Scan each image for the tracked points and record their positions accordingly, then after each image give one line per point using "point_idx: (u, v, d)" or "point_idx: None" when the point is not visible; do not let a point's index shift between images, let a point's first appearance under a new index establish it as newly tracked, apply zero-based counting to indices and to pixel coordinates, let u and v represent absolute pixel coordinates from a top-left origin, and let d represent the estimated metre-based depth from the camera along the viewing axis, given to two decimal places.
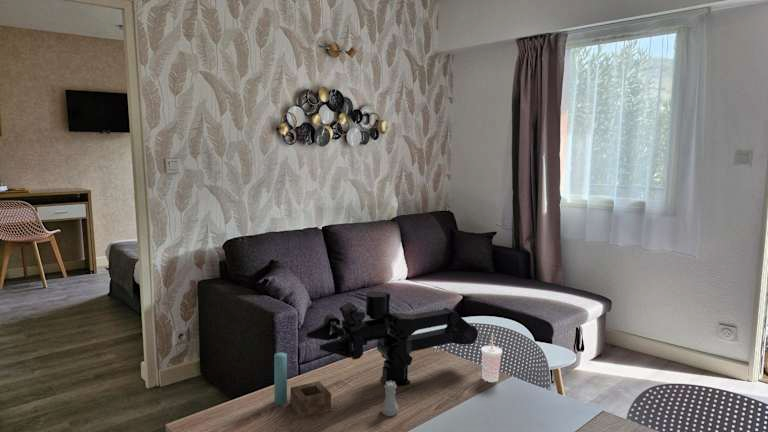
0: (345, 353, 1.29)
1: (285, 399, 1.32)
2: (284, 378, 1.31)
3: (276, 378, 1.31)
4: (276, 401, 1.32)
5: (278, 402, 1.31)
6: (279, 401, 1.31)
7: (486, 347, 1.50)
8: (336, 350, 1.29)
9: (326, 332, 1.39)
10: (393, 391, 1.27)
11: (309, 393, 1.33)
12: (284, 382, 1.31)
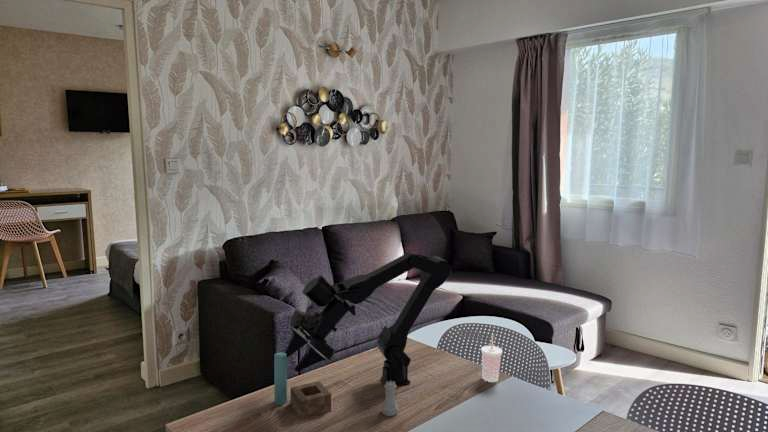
0: (320, 358, 1.30)
1: (285, 399, 1.32)
2: (284, 378, 1.31)
3: (276, 378, 1.31)
4: (276, 401, 1.32)
5: (278, 402, 1.31)
6: (279, 401, 1.31)
7: (486, 347, 1.50)
8: (311, 362, 1.29)
9: (299, 340, 1.39)
10: (393, 391, 1.27)
11: (309, 393, 1.33)
12: (284, 382, 1.31)
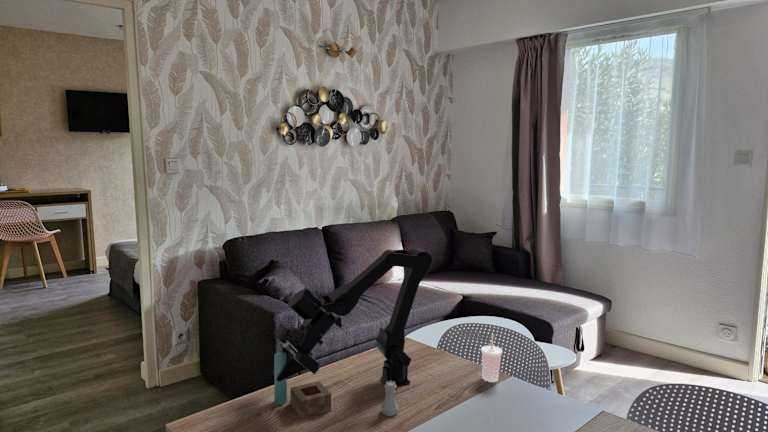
0: (301, 368, 1.30)
1: (285, 399, 1.32)
2: None
3: None
4: (276, 401, 1.32)
5: (278, 402, 1.31)
6: (279, 401, 1.31)
7: (486, 347, 1.50)
8: (292, 371, 1.30)
9: None
10: (393, 391, 1.27)
11: (309, 393, 1.33)
12: (284, 382, 1.31)
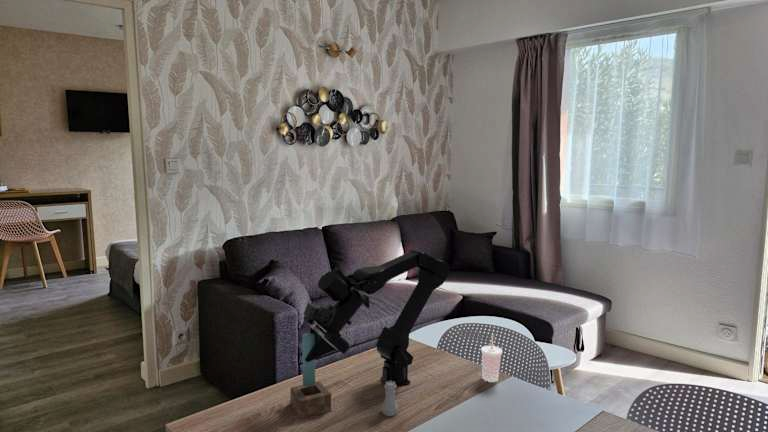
0: (330, 348, 1.28)
1: (313, 380, 1.29)
2: None
3: (304, 359, 1.28)
4: (304, 382, 1.29)
5: (306, 383, 1.29)
6: (307, 382, 1.29)
7: (486, 347, 1.50)
8: (321, 352, 1.27)
9: (316, 338, 1.32)
10: (393, 391, 1.27)
11: (309, 393, 1.33)
12: (312, 363, 1.28)
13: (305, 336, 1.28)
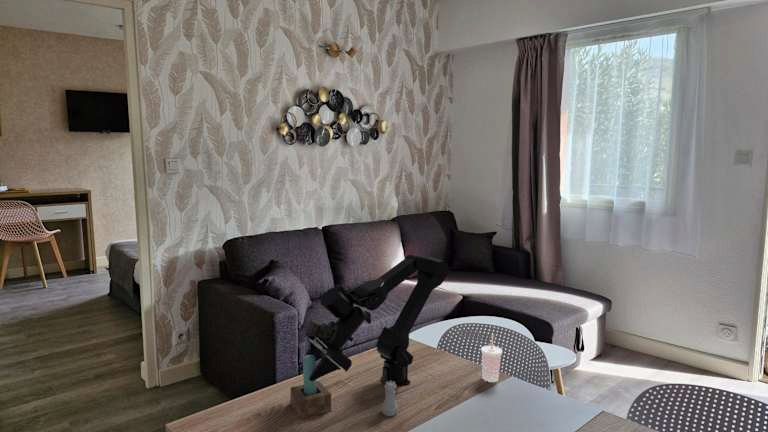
0: (334, 367, 1.27)
1: None
2: (313, 381, 1.29)
3: (305, 381, 1.28)
4: None
5: None
6: None
7: (486, 347, 1.50)
8: (325, 371, 1.26)
9: (316, 352, 1.34)
10: (393, 391, 1.27)
11: None
12: (313, 384, 1.29)
13: (305, 358, 1.28)
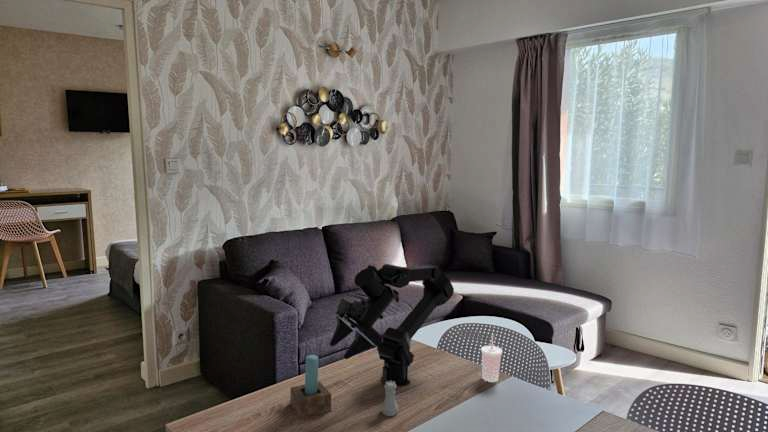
0: (368, 345, 1.29)
1: None
2: (315, 381, 1.29)
3: (307, 381, 1.28)
4: None
5: None
6: None
7: (486, 347, 1.50)
8: (359, 349, 1.29)
9: (345, 328, 1.39)
10: (393, 391, 1.27)
11: None
12: (315, 385, 1.29)
13: (308, 358, 1.28)
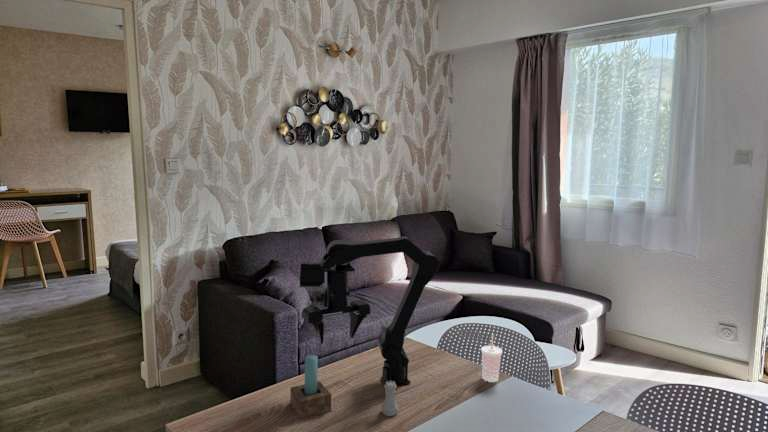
0: None
1: None
2: (315, 381, 1.29)
3: (307, 381, 1.28)
4: None
5: None
6: None
7: (486, 347, 1.50)
8: (318, 331, 1.37)
9: (353, 318, 1.43)
10: (393, 391, 1.27)
11: None
12: (315, 385, 1.29)
13: (308, 358, 1.28)
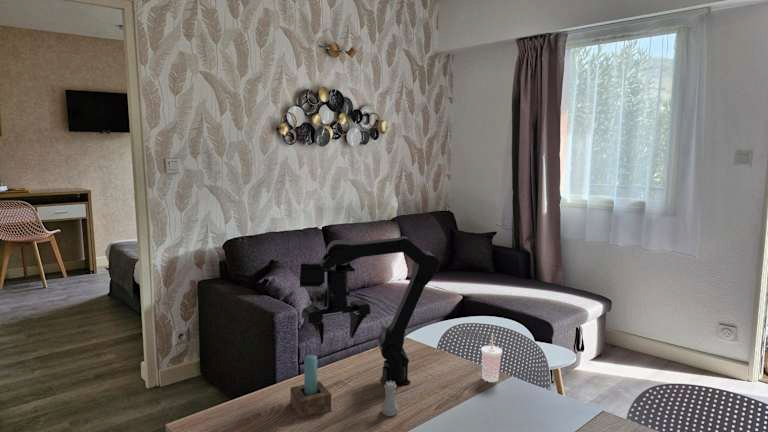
0: None
1: None
2: (314, 380, 1.29)
3: (306, 381, 1.28)
4: None
5: None
6: None
7: (486, 347, 1.50)
8: (318, 331, 1.37)
9: (353, 318, 1.43)
10: (393, 391, 1.27)
11: None
12: (314, 384, 1.29)
13: (307, 358, 1.28)
